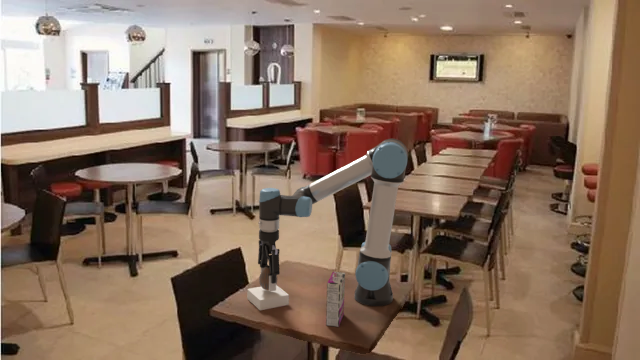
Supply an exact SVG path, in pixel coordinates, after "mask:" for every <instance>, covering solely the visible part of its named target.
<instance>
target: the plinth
mask: <svg viewBox="0 0 640 360" xmlns="http://www.w3.org/2000/svg"><path fill="white" fill-rule="evenodd" d="M246 291H247V293H246V299H247V300H248V301H249V302H250V303H251V304H252V305H254V306H255V307H256V309H257V310H258V311H263V310H265V311H266V310H270V309H273V308H280V307H284V306H289V305H290V294H289V293H287V292H286V290H285V291H284V290H283V289H282V288H281V287H280V286H278V285H277V284H276V291H270V292H269V290H264V289H263V288H262V287H261V286H256V287H250V288H247V290H246Z"/></svg>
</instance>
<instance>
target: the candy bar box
mask: <svg viewBox="0 0 640 360" xmlns="http://www.w3.org/2000/svg"><path fill="white" fill-rule="evenodd" d="M345 283H346V272H343V271H342V272H340V271H332V272H331V274H330V277H329V278H328V280H327V282H326V311H325V312H326V314H325V316H326V318H325V319H326V321H325V325H326V327H327V326H328V327H335V328H339V327H340V326H341V325H340V324H341V323H342V320H343V318H344V315H345V287H346V286H345Z"/></svg>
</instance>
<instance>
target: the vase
mask: <svg viewBox="0 0 640 360" xmlns="http://www.w3.org/2000/svg"><path fill="white" fill-rule="evenodd" d="M268 274H270V268H269V264H268V266H265V268H264V270H263V271H262V272H261V271H260V274H259V280H258V281H259V285H260V287H262V288H263V289H264V290H269V275H268ZM277 284H278V275H276V285H277Z"/></svg>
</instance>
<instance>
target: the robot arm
mask: <svg viewBox="0 0 640 360" xmlns="http://www.w3.org/2000/svg"><path fill="white" fill-rule="evenodd" d="M408 156H409V151H408V149H407V146H406V145H405V144H404V143H403V142H402V141H401V140H399V139H396V138H387V139H384V140H383V141H382V142H380V143H378V144H377V145H376V146H374V147H372V148H371V149H369V150H367V152H366V154H365V155H363V156H361V157H359V158H358V159H355V160H354V161H352V162H349V163H348V164H346V165H344V166H342V167H340V168H338V169H336V170H334V171H333V172H331V173H329V174H326V175H325V176H323V177H321V178H319V179H316V180H315V181H313V182H311V183H310V184H308V185H305V186H302V187H300V188H298V189H296V191H295V192H294V193H293V194H292V195H285V194H281V193H280V192H281V191H280V189H279V188H275V187H266V188H265V187H264V188H262V189H261V190H259V199H258V205H259V206H258V207H259V210H258V212H259V213H258V214H259V217H258V218H259V219H258V220H259V221H258V229H259V230H258V239H259V240H258V253H257V254H258V256H257V257H258V259H257V264H258V265H259V268H260V273H261V272H262V271H263V270H264V268H265V266H268V265H269V268H270V274H268V275H269V292H270V291H276V285H277V284H276V275H277V276H278V275H280V248H277V246H276V242H277V241H278V240H279V239H280V230H279V229H280V216H284V217H285V216H286V217H297V218H309V217H311V216H312V211H313V205H314V204H316V203H318V202H319V201H322V200H324V199H326V198H328V197H330V196H332V195H333V194H336V193H338V192H339V191H341V190H342V191H343V190H344V189H345V188H348V187H349V186H352V185H354V184H356V183H357V182H360V181H361V180H364V179H366V178H367V177H368V178H369V176H370V178H371V179H372V181H373V182H374V183H373V189H372V190H373V191H372V195H371V197H372V198H371V202H370V203H371V204H370V209H369V214H368V215H369V216H368V223H367V228H366V235H365V236H366V237H365V241H364V242H362V244H361V247H360V248H359V253H358V261H357V266H356V268H355V279H356V280H355V281H356V282H357V285H356V288H355V291H354V295H353V296H354V300H355V301H356V302H358V303H360V304H363V305H365V306H371V307H373V306H374V307H381V306H382V307H383V306H388V305H390V304H392V302H393V300H394V299H393V298H394V294H393V290H392V289H393V288H392V286H391V282H390V279H391V276H390V274H391V261H392V256H393V255H392V246H391V244H390V241H391V240H390V239H391V234H392V233H391V232H392V228H393V223H394V217H395V216H394V215H395V210H396V204H397V199H398V198H397V196H398V191H399V186H400V185H402V184H403V183H404V181H405V176H406V175H405V173H406V169H407V165H408Z"/></svg>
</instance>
